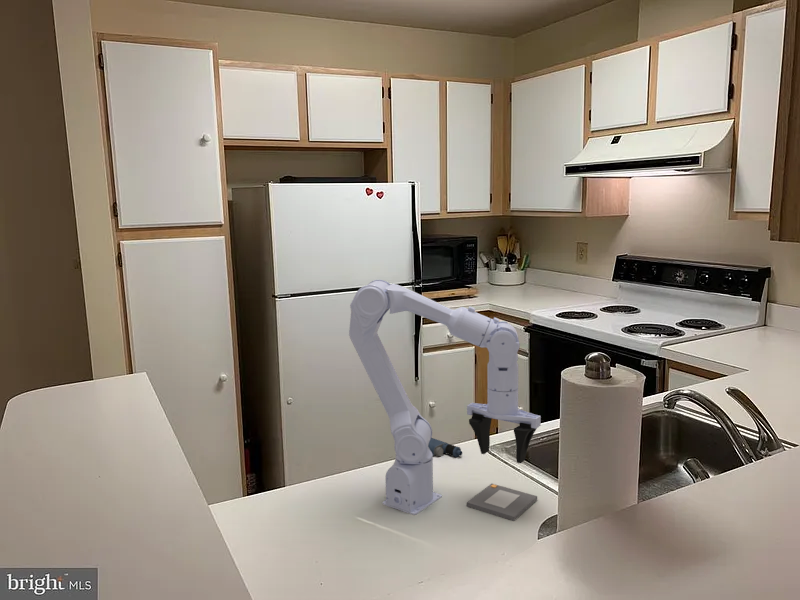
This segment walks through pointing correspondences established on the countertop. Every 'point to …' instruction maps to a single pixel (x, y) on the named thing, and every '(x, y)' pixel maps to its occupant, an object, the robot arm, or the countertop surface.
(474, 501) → the computer chip
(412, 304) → the robot arm
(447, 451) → the vaping device
